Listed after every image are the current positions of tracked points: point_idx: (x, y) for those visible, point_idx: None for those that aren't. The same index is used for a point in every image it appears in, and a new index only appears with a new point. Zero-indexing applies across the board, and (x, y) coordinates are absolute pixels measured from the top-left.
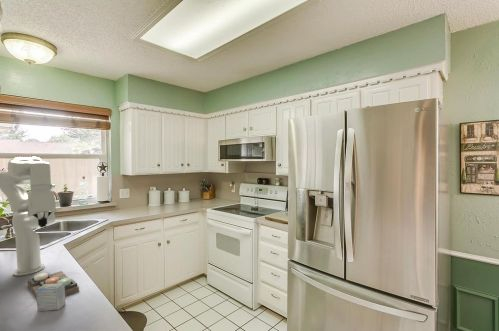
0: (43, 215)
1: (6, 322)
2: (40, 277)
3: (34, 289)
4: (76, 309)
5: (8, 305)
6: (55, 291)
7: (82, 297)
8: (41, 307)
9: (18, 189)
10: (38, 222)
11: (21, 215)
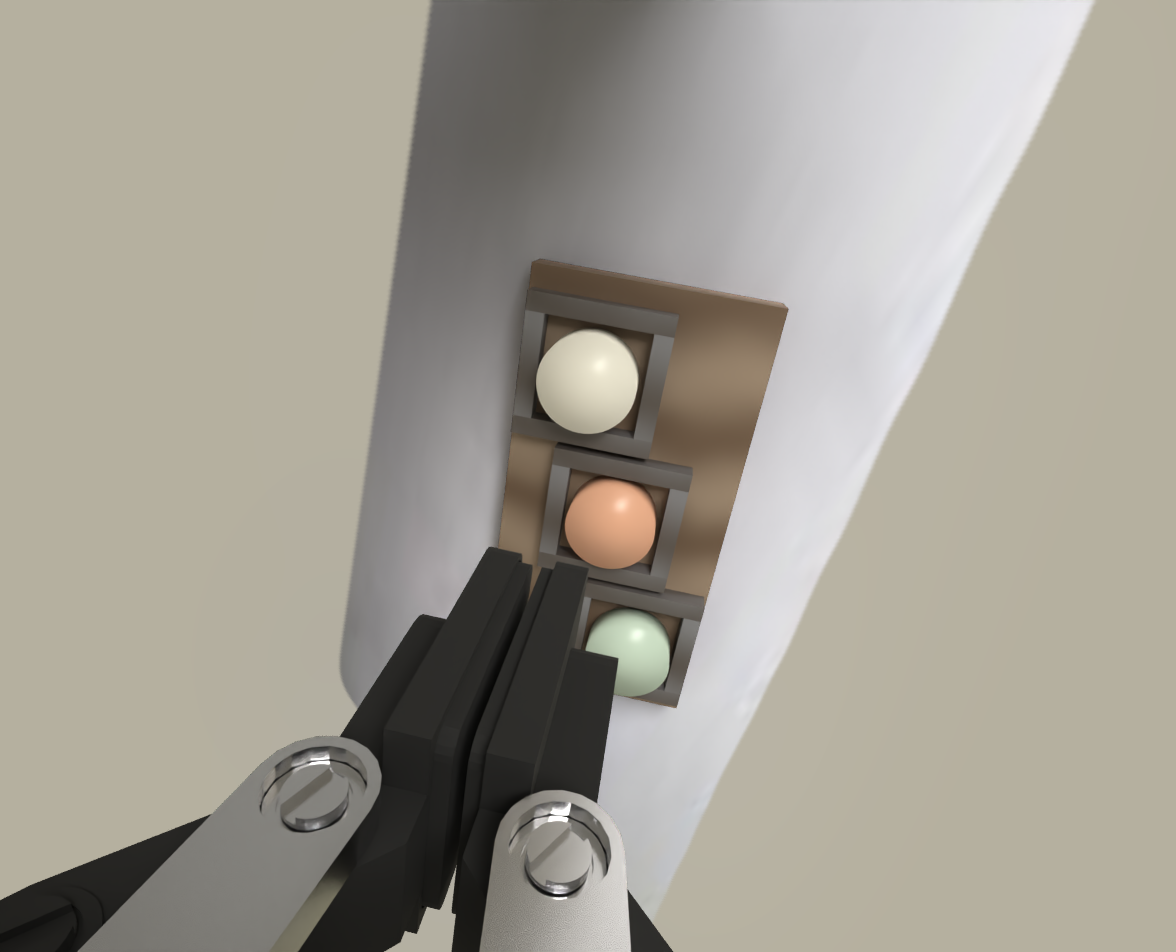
0: (484, 903)
1: (346, 656)
2: (566, 428)
3: (508, 489)
4: None
5: (381, 485)
6: None
7: (643, 761)
8: None
9: None
10: (387, 687)
11: None
